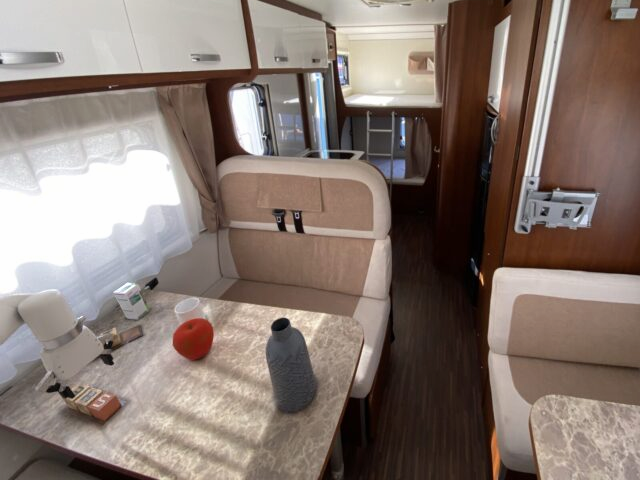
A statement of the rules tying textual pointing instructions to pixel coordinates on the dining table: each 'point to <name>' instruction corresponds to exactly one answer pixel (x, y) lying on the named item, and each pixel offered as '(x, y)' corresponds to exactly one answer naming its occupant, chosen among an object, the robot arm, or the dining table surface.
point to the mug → (189, 310)
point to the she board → (91, 418)
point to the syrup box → (131, 301)
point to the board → (123, 337)
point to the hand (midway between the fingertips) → (91, 379)
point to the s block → (104, 406)
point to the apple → (193, 338)
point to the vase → (289, 367)
